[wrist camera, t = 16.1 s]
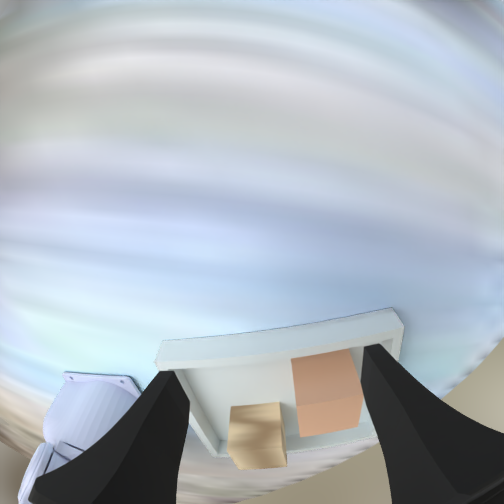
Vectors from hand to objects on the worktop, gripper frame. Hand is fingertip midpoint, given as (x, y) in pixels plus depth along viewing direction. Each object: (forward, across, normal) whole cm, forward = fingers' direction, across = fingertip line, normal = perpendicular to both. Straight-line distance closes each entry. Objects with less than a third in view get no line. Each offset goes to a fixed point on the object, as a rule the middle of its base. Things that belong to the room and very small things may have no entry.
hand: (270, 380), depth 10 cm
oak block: (+9, +3, +16) cm, 18 cm away
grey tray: (+9, 0, +13) cm, 16 cm away
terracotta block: (+9, -3, +10) cm, 14 cm away
